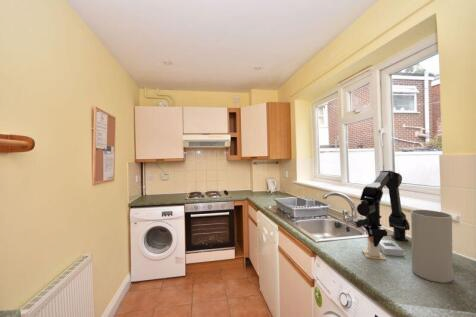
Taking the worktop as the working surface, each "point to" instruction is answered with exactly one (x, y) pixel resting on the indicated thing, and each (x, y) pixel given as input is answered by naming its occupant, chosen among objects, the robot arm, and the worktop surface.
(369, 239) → the plug
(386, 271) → the worktop surface
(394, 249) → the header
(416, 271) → the cylinder vase
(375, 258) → the mat
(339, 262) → the worktop surface
